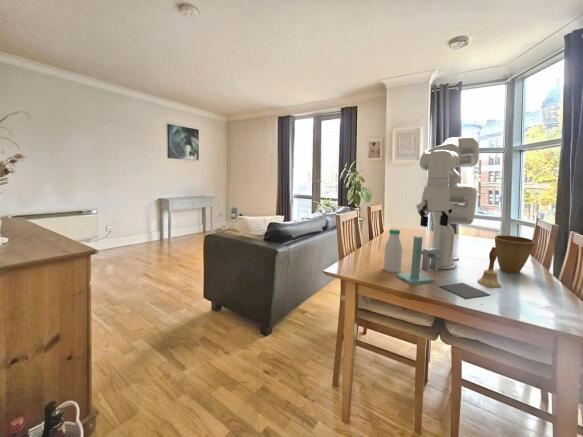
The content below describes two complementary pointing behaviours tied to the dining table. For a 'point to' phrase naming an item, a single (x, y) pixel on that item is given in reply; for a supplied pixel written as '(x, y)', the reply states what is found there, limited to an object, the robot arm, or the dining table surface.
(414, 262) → the stand
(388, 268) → the milk bottle
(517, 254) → the plant pot
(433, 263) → the link
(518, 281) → the dining table surface
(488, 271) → the hand bell
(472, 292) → the mat
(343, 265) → the dining table surface
